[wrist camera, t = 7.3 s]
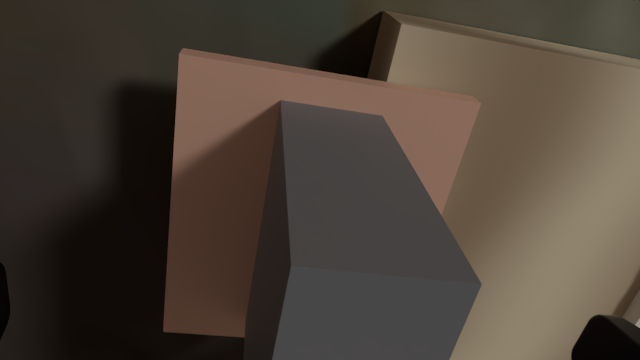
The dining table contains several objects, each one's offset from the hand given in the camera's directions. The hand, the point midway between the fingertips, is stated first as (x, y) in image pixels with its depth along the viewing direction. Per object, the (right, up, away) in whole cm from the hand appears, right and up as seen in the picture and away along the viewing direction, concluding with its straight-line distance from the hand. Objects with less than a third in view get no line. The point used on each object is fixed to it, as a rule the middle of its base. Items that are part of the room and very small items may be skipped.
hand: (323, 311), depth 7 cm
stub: (0, +1, +2) cm, 3 cm away
